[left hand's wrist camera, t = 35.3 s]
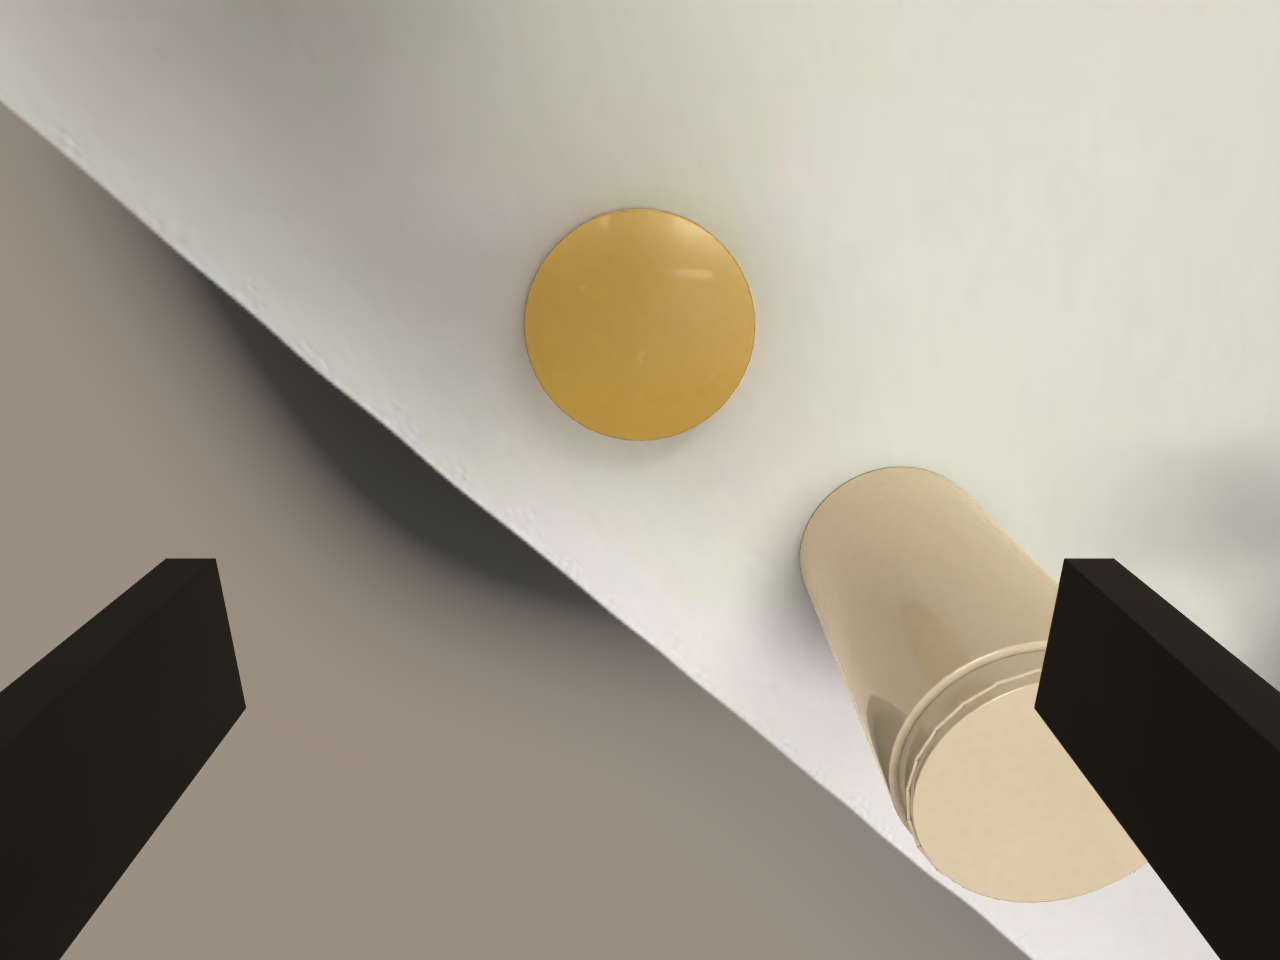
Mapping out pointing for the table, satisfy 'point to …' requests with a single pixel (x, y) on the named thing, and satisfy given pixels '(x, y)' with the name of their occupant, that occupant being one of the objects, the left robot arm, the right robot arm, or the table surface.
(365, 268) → the table surface
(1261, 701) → the left robot arm
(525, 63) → the table surface
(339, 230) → the table surface
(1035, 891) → the jar
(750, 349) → the lid
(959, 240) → the table surface
